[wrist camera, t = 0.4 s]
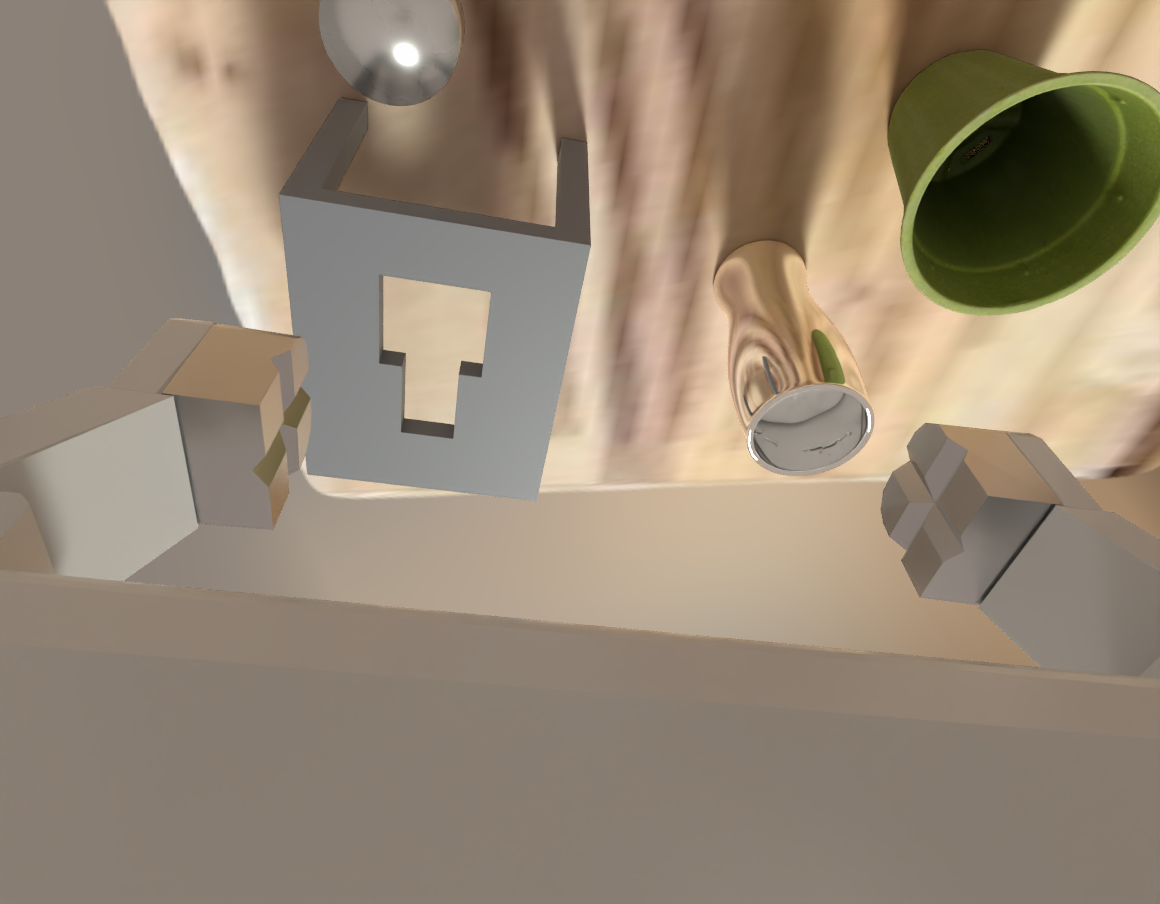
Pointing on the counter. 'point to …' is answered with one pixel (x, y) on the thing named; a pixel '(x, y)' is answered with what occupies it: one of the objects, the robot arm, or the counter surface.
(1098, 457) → the counter surface
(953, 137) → the plant pot
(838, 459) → the beer glass
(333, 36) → the steel peg
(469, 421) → the keyhole stand
